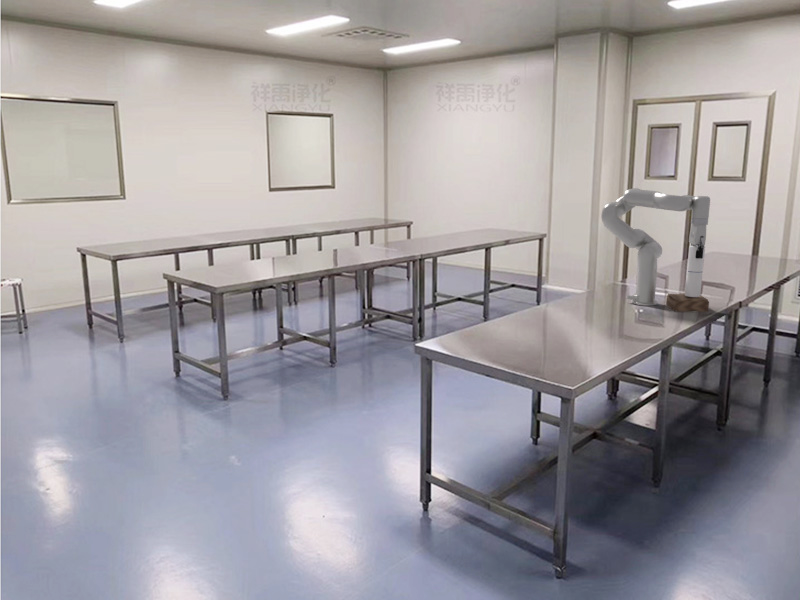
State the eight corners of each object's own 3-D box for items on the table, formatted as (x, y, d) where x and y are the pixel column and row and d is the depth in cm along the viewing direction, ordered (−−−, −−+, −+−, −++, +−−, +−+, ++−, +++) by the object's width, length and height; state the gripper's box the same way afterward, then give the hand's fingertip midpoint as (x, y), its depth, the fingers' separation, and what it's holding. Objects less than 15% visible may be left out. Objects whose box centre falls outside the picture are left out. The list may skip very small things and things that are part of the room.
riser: (674, 311, 316) (675, 299, 315) (666, 304, 330) (667, 293, 328) (708, 311, 314) (709, 300, 313) (698, 305, 328) (699, 294, 327)
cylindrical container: (691, 297, 315) (696, 247, 310) (681, 294, 322) (686, 245, 316) (703, 296, 317) (708, 247, 311) (693, 293, 324) (698, 245, 318)
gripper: (685, 219, 320) (682, 254, 324) (698, 223, 303) (694, 259, 307) (701, 219, 319) (697, 254, 323) (714, 223, 302) (710, 260, 306)
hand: (696, 256), depth 315 cm, fingers closed on cylindrical container, 7 cm apart
